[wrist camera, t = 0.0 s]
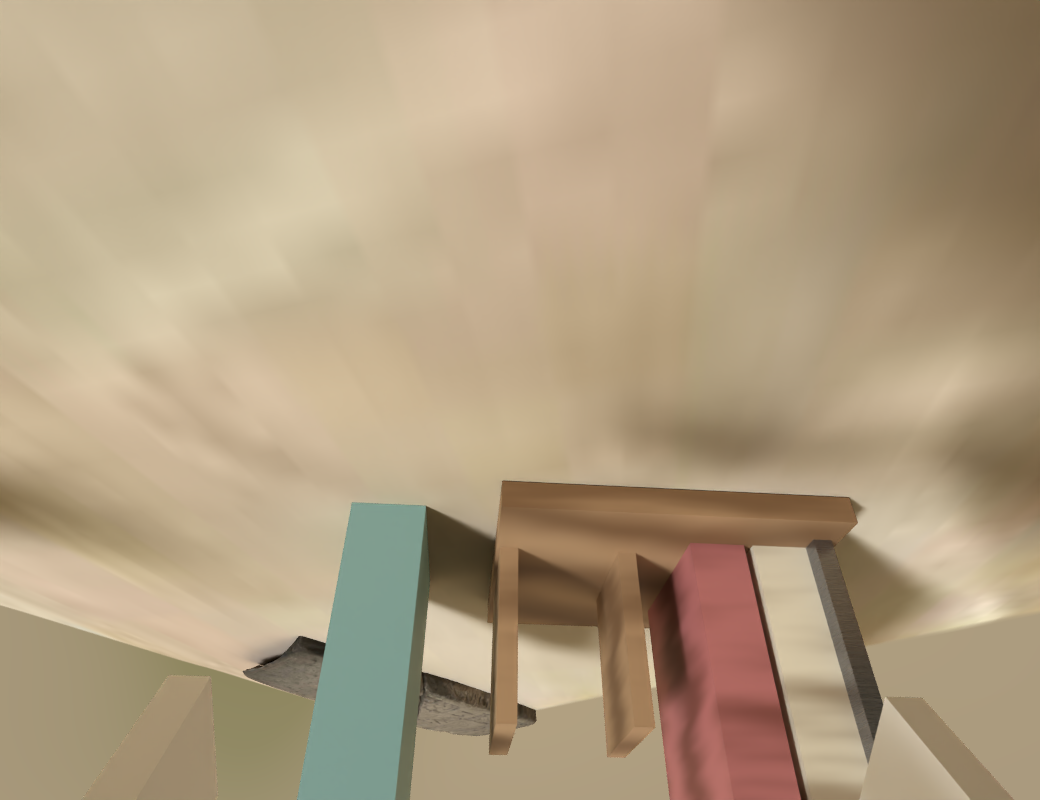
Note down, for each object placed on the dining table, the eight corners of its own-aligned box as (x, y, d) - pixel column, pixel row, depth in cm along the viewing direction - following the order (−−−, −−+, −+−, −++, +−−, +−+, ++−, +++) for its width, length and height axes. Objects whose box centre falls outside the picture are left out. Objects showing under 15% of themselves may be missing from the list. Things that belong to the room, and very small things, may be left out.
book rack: (502, 481, 34) (491, 908, 23) (849, 497, 35) (993, 912, 24) (488, 601, 47) (476, 916, 36) (745, 610, 48) (810, 919, 37)
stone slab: (301, 656, 51) (543, 741, 68) (311, 615, 53) (543, 708, 70) (227, 679, 56) (469, 752, 73) (238, 641, 58) (471, 721, 75)
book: (352, 502, 36) (285, 859, 26) (426, 505, 36) (388, 860, 26) (369, 578, 44) (323, 876, 34) (430, 581, 44) (402, 877, 34)
